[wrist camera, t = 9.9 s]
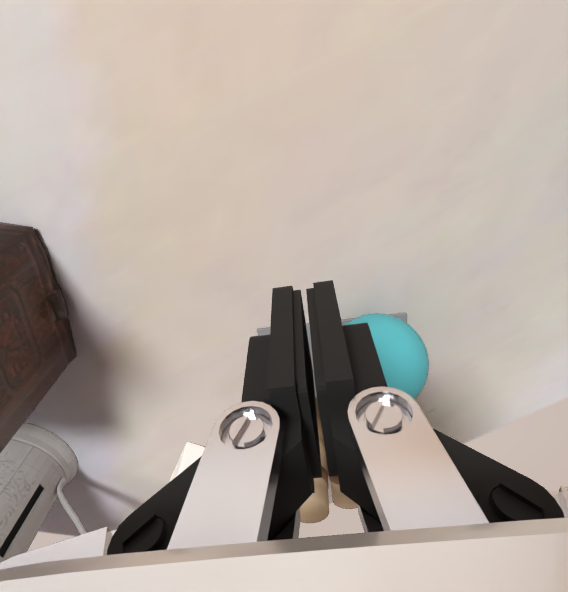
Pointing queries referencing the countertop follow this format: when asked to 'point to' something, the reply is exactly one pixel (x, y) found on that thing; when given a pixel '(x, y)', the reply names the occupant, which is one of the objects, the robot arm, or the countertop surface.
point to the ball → (398, 352)
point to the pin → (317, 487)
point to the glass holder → (32, 486)
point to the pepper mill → (28, 327)
